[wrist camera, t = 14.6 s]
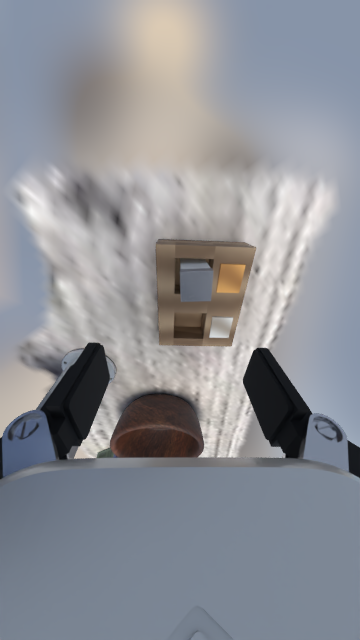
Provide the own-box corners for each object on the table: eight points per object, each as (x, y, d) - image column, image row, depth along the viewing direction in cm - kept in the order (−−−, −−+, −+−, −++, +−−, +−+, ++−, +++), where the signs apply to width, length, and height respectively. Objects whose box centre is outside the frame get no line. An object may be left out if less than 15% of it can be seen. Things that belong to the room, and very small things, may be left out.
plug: (203, 281, 31) (211, 301, 24) (180, 281, 31) (180, 301, 24) (204, 256, 28) (213, 270, 22) (179, 257, 28) (180, 271, 22)
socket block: (225, 331, 38) (231, 347, 33) (161, 330, 37) (159, 346, 33) (244, 242, 28) (257, 248, 24) (158, 239, 28) (155, 244, 23)
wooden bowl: (212, 420, 57) (218, 457, 49) (149, 437, 63) (144, 473, 55) (176, 375, 46) (176, 414, 37) (103, 403, 52) (88, 441, 43)
